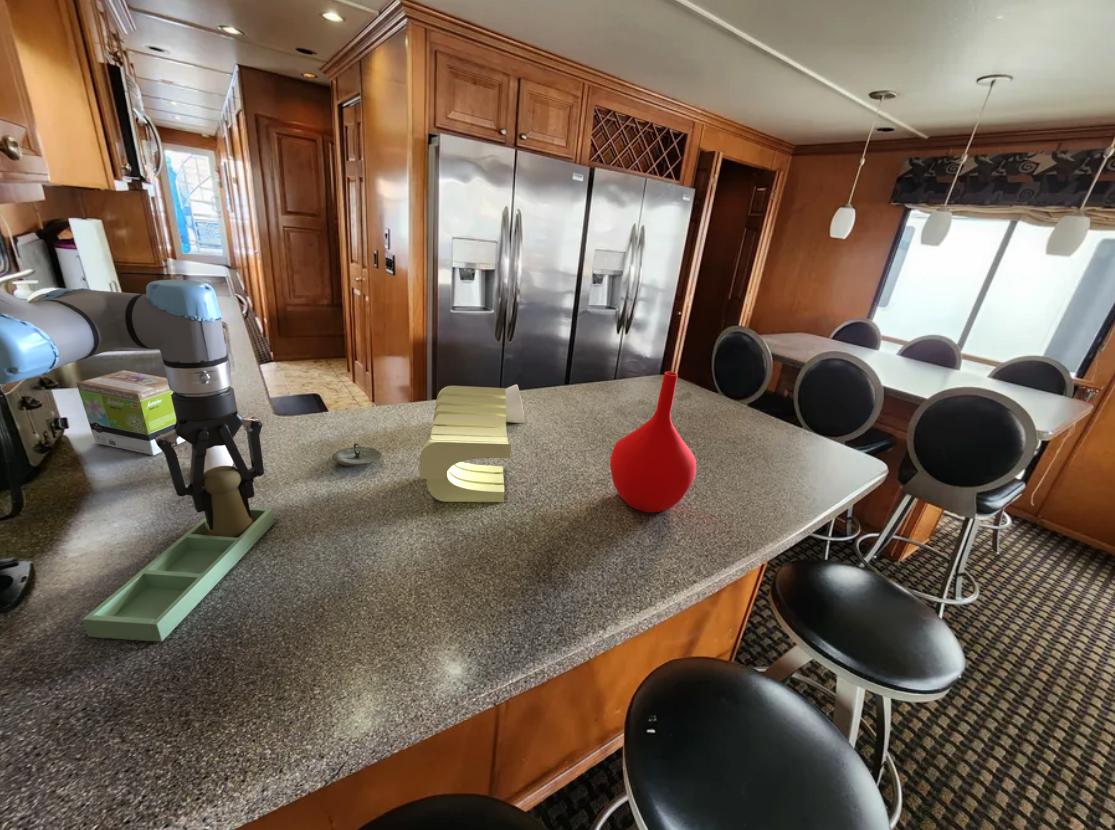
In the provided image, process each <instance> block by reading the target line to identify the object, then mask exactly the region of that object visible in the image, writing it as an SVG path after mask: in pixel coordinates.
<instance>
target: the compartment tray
mask: <svg viewBox="0 0 1115 830" xmlns="http://www.w3.org/2000/svg"><path fill="white" fill-rule="evenodd" d="M249 508H250V513H251V519H252V525H251V526H250V527H249V528H248V529H247V530H246V531H245V532H243V533H241V534H239V535H237V536H233V537H222V536H211V535H210V533H209V526H208V524H207V521H206V516H205V517H204V518H202V519H201V520H200V521H198V522H197V523H196V524H195V525H194V526H193V527H192V528H190V529H189V530H188V531H187V532H185V534H183V535H182V536H180V537H179V538H178V539H177V540H176V541H174V543H172V544H171V545H170V546H168V547H167V548H166V549H165V550H164V551H162V552H161V553H160V554H159V555H158V556H156V557H155V558H154V559H152V561H151V562H149V563H148V564H147V565H146V566H145V567H143V568H142V569H141V570H139V571H138V572H137V573H136V574H135V575H134V576H132V577H131V578H130V579H129V580H128V581H126V582H125V583H124V584H122V585H121V586H120V587H119V588H118V589H116V591H114V592H113V593H112V594H110V595H109V596H108V597H107V598H106V599H105V600H103V601H102V602H101V603H100V604H99V605H97V606H96V607H95V608H94V609H93V610H91V611H90V612H89V613H88V614H87V615H85V616H84V617H83V618H82V619H81V620H82V623H83V626H84V628H85V631H86V634H87V636H88V638H100V639H101V638H102V639H115V640H116V639H117V640H128V641H129V640H131V641H145V642H161V643H162V642H163V641H164V640H165V639H166V638H167V637H168V636H169V635H170V634H171V633H172V632H173V631H174V630H175V628H177V626H178V625H179V624H180V623H181V622H182V621H183V620H184V619H185V618H186V617H188V615H189V614H190V613H192V611H193V609H194V608H196V607H197V606H198V604H199V603H200V602H201V601H202V600H203V599H204V598H205V597H206V596H207V595H208V594H209V593H210V592H211V590H213V589H214V587H215V586H216V585H217V584H219V582H220V581H221V580H222V579H223V578H224V577H225V576H226V575H227V574H228V573H229V572H230V571H231V569H232V568H233V567H235V565H236V564H237V563H238V562H239V561H240V560H241V559H242V558H243V557H244V556H245V555H246V554H247V553H248V552H249V550H250V549H251V548H252V547H253V546H254V545H255V544H256V543H257V542H258V541H259V540H260V539H261V538H262V537H263V536H264V535H265V534H266V533H267V531H269V529H270V528H271V527H272V526H273V525H274V524H275V518H274V511H273V508H265V507H252V506H249Z"/></svg>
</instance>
